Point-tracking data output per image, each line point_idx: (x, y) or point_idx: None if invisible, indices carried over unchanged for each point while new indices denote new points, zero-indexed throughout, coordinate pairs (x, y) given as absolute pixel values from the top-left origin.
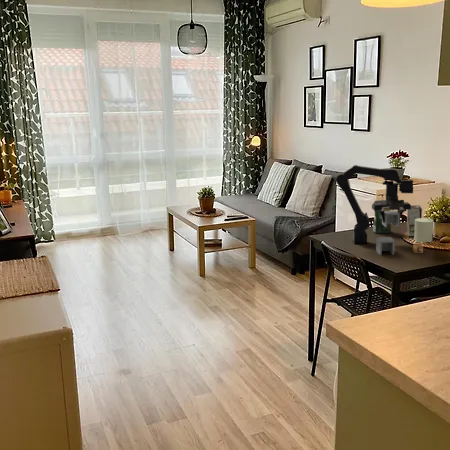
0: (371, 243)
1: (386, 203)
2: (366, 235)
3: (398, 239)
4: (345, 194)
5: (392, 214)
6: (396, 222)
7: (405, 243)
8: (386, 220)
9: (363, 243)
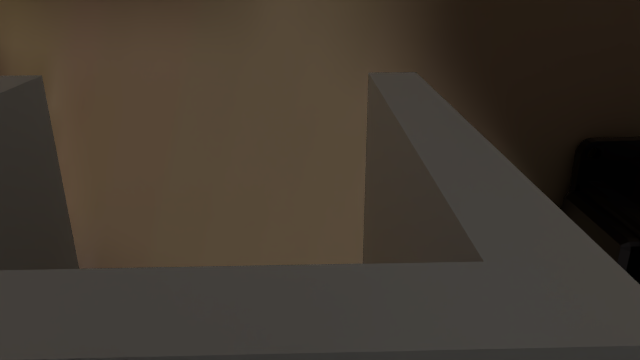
0: (507, 154)
1: None
2: (626, 232)
3: None
4: None
5: (42, 317)
6: (22, 258)
7: None
8: (450, 133)
9: (629, 139)
